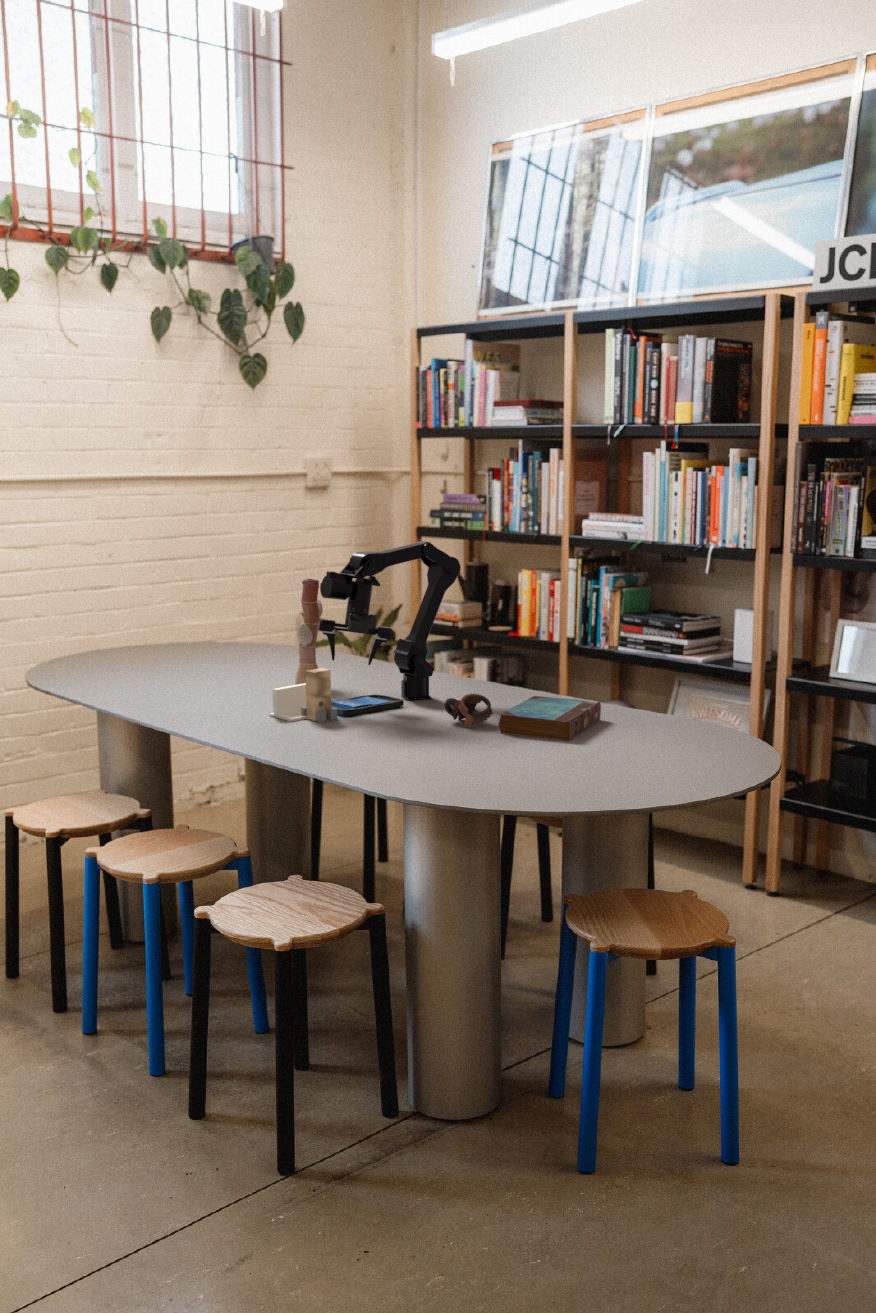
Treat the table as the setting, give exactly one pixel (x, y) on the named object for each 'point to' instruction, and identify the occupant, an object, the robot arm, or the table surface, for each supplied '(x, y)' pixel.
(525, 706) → the book
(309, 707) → the wooden building block
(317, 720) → the cream board with pegs
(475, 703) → the brown looped piece
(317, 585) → the reddish-brown tall column
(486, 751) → the table surface
